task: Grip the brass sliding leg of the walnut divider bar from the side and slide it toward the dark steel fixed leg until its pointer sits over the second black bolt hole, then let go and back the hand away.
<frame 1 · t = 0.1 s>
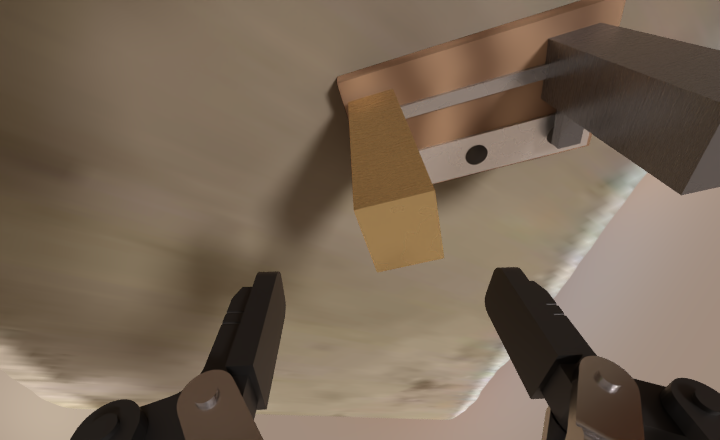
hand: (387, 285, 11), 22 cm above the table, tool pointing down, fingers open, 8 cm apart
sliding leg: (392, 188, 23), point 10 cm above the table, slide at -9.0 cm
divider base: (466, 83, 28), on the table
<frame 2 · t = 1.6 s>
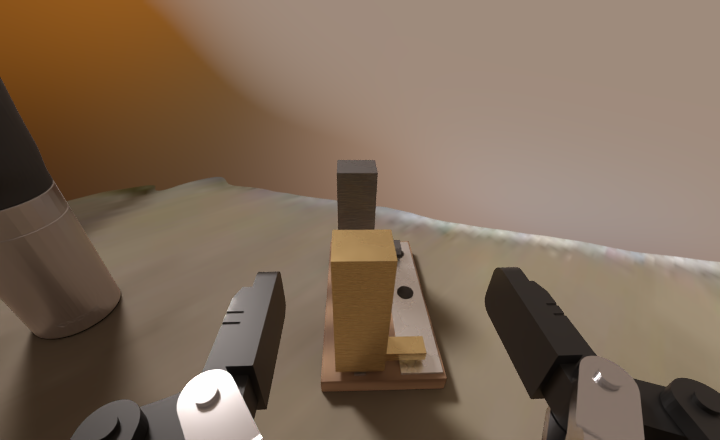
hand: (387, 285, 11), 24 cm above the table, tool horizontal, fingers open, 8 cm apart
sliding leg: (384, 307, 28), point 10 cm above the table, slide at -9.0 cm
divider base: (356, 304, 41), on the table
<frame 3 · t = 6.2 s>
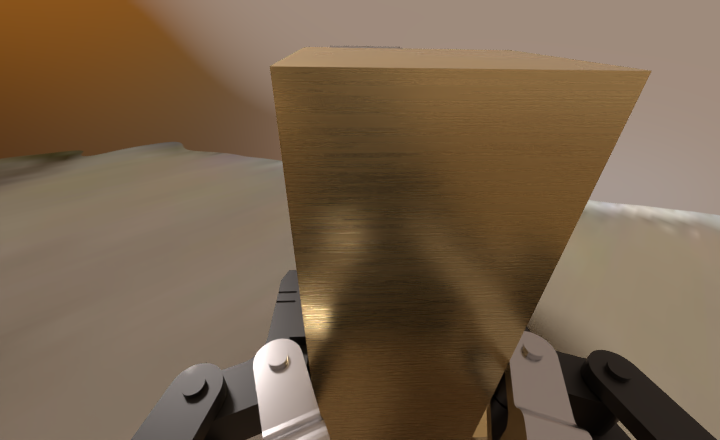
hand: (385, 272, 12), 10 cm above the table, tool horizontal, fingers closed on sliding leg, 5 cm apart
sliding leg: (464, 321, 10), point 10 cm above the table, slide at -9.0 cm, touching gripper
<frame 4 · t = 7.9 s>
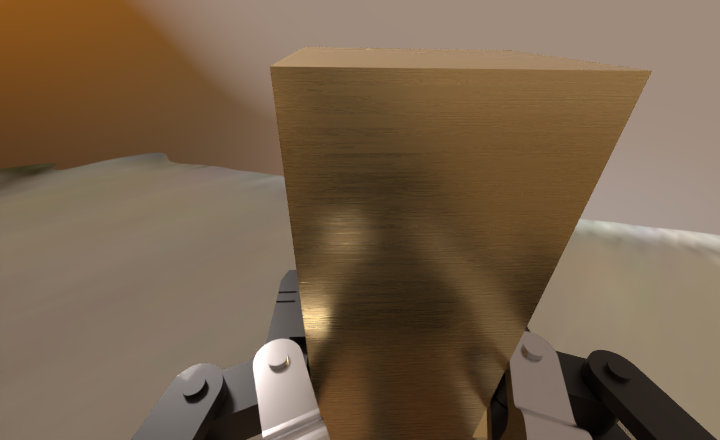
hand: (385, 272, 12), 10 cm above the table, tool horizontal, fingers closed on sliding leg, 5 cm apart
sliding leg: (464, 322, 10), point 10 cm above the table, slide at -3.5 cm, touching gripper
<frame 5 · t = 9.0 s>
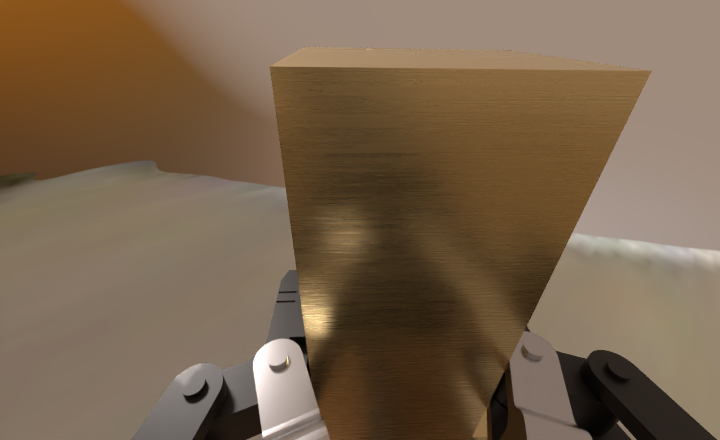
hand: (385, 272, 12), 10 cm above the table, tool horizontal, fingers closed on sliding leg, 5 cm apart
sliding leg: (464, 321, 10), point 10 cm above the table, slide at 0.0 cm, touching gripper
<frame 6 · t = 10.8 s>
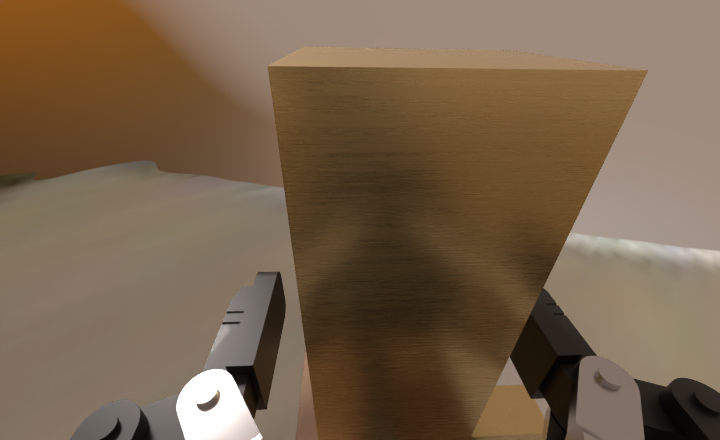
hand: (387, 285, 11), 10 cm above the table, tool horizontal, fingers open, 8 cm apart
sliding leg: (463, 321, 10), point 10 cm above the table, slide at 0.0 cm
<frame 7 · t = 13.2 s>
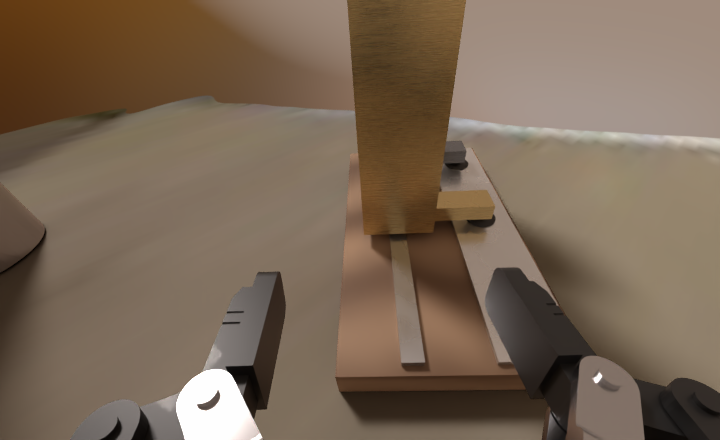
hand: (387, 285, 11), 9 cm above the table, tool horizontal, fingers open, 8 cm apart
sliding leg: (435, 122, 18), point 10 cm above the table, slide at 0.0 cm
divider base: (395, 241, 25), on the table
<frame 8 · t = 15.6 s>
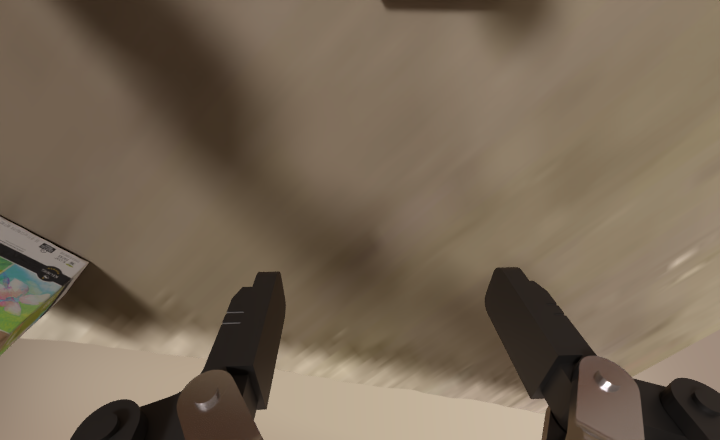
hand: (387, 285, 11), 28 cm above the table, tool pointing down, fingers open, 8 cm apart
tea box: (24, 249, 44), on the table
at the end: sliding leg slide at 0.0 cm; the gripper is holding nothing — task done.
